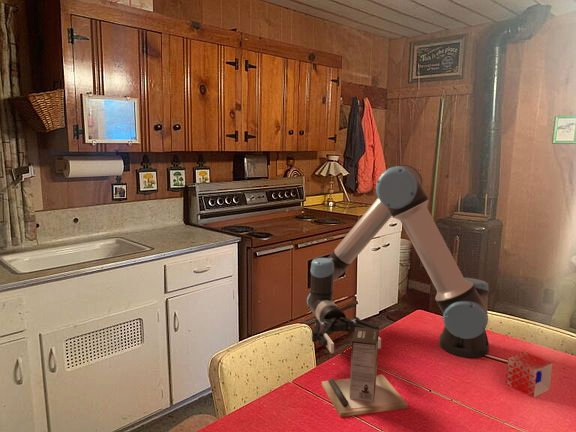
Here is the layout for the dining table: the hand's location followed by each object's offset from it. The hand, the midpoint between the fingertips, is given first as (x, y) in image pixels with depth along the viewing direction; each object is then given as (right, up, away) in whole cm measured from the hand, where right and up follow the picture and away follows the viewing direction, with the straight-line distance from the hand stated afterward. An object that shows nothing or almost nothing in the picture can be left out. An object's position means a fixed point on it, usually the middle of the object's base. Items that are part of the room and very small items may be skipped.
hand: (356, 346), depth 123 cm
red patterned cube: (+48, -12, +3) cm, 49 cm away
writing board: (+1, -12, -3) cm, 13 cm away
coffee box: (+1, -11, -3) cm, 12 cm away
